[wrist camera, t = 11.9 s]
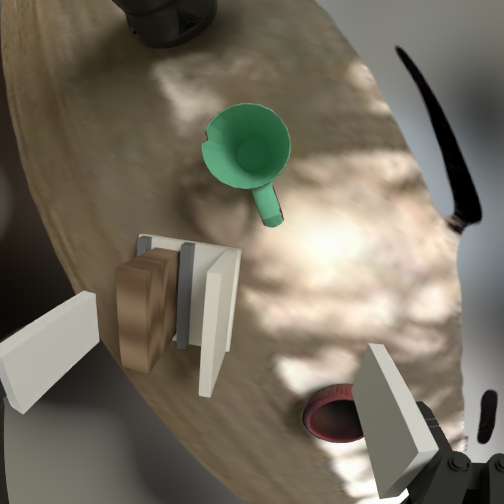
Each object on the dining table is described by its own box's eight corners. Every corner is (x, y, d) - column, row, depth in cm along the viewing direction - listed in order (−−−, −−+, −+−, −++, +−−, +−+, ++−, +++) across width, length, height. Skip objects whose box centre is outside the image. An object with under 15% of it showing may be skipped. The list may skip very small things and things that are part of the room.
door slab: (155, 247, 43) (116, 268, 31) (180, 251, 43) (146, 274, 31) (154, 328, 46) (121, 366, 34) (176, 333, 46) (148, 374, 34)
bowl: (319, 429, 50) (322, 458, 42) (291, 391, 48) (291, 421, 40) (392, 396, 47) (404, 423, 39) (373, 352, 45) (386, 378, 37)
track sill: (142, 233, 44) (95, 252, 31) (242, 248, 43) (226, 275, 30) (141, 328, 48) (105, 368, 35) (230, 348, 47) (213, 398, 34)
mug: (210, 136, 40) (189, 122, 30) (273, 112, 38) (272, 90, 29) (244, 230, 42) (234, 243, 33) (309, 207, 41) (319, 214, 31)
